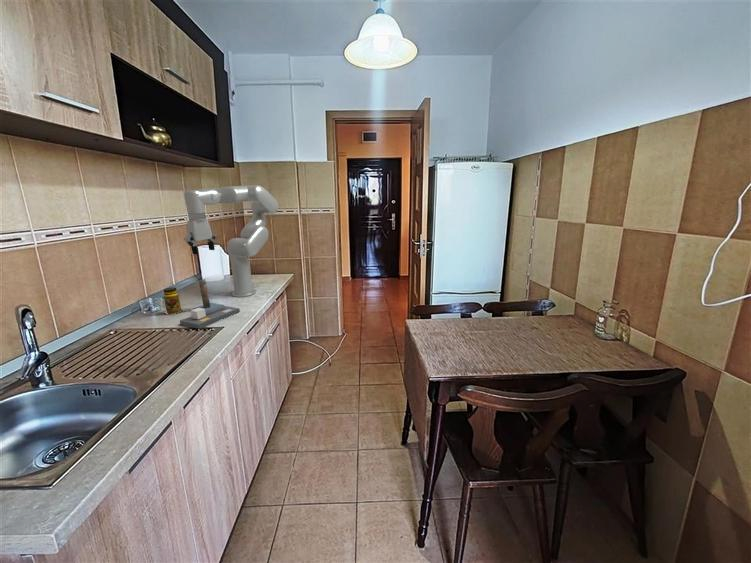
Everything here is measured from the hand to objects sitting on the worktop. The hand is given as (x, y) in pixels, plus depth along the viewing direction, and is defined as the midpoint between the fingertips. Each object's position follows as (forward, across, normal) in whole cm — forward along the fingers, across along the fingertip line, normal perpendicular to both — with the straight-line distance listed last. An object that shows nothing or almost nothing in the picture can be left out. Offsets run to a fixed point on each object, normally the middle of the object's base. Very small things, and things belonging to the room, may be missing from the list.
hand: (203, 252), depth 166 cm
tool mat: (+27, +6, +2) cm, 28 cm away
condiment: (+27, +16, -9) cm, 33 cm away
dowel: (+26, +6, +3) cm, 27 cm away
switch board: (+27, +16, +16) cm, 35 cm away
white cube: (+24, +21, +15) cm, 35 cm away
